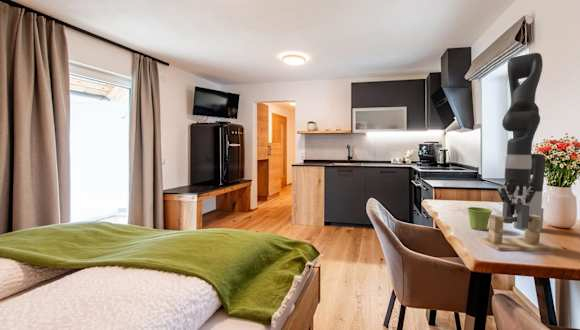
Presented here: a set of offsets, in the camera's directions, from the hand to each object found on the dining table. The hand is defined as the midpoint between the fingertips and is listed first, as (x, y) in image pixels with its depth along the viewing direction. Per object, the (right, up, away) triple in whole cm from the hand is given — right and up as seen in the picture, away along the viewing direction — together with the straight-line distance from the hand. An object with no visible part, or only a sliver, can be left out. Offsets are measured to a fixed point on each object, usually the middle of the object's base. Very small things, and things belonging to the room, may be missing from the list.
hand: (515, 214), depth 109 cm
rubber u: (0, -4, 0) cm, 4 cm away
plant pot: (+1, -10, +23) cm, 25 cm away
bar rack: (0, -12, +1) cm, 12 cm away
